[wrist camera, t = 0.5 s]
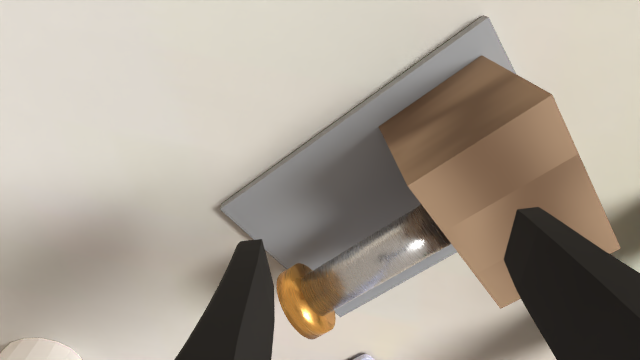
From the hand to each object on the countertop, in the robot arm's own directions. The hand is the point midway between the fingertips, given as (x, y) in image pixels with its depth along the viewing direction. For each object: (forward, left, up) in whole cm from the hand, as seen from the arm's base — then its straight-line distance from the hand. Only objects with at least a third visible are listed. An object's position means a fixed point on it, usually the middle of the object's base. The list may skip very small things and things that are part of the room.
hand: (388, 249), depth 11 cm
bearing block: (+4, -6, -11) cm, 13 cm away
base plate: (0, -6, -11) cm, 13 cm away
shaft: (-3, -6, -9) cm, 11 cm away
